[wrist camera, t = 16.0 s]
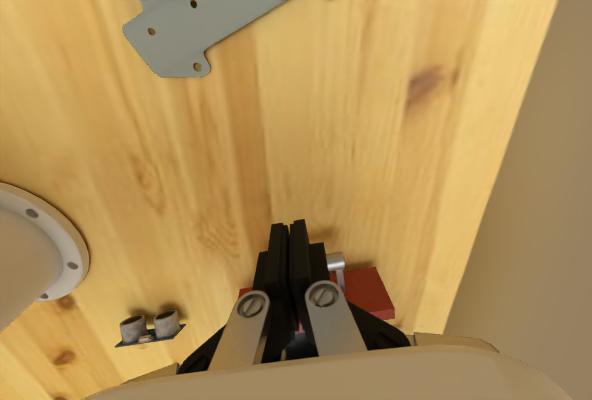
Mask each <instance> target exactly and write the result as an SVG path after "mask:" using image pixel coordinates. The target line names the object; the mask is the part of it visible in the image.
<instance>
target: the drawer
mask: <svg viewBox="0 0 592 400" xmlns="http://www.w3.org/2000/svg"><path fill="white" fill-rule="evenodd" d="M326 259H327V264H328V270H329V271H335V274H329V275H330V281H331V282H334V283H336V284H337V285H338V286H339V287H340V288H341V290H342V292H343V294H344V297H345V299H346V300H347V301H349V302H351V303H353V304H355V305H356V306H358V307H360V308H362V309H363V310H365V311H367V312H369V313H370V314H372V315H374V316H376V317H378V318H379V319H381V320H388V319H394V318H395V308H394V306H393V304H392V302H391V300H390V297H389V295H388V293H387V291H386V289H385V286H384V284H383V282H382V280H381V278H380V276H379V273H378V271H377V269H376V267H372V268H365V269H359V270H353V271H347V272H343V269H345V261H344V256H343V253H342V252H335V253H329V254H326ZM252 288H253V287H250V288H244V289H240V292H239V296H238V299H239V298H240V297H241V296H243V295H244V294H246V293H248V292H251V291H252ZM299 327H300V330H299V331H298V332H295V340H293V341H291V342H290V343H289V344H288V345H287V346H286V359H285V361H288V360H296V359H304V358H313V357H319V354H318V350H317V347H316V346H315V345H314V344H312V343H311V342H310V341H309V340H307V338H306V334H305V331H303V329H302V326H301V322H300V318H299Z"/></svg>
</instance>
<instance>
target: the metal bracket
mask: <svg viewBox="0 0 592 400" xmlns="http://www.w3.org/2000/svg"><path fill="white" fill-rule="evenodd" d="M140 1H141V3H142V5H143V11H142V13H141V14H139V15H138V16H136V17H135V18H133V19H132V20H130V21H129V22H127V23H126V24H124V25H123V27H122V30H123V33H124V36H125V38H126V39H127V40H128V41H129V43H130V44H131V45H132V46H133V47H134V49H135V50H136V51H137V52H138V54H139V55H140V56H141V57H142V59H143V60H144V61H145V62H146V64H147V65H148V66H149V67H150V69H151V70H152V71H153V72H154V73H155V74H157V75H158V76H159V77H203V76H204V75H206V74H208V73H209V72H210V69H211V67H210V64H209V63H208V61H207V60H206V58H205V56H204V51H205V49H207V48H209V47H210V46H212V45H213V44H215V43H217V42H218V41H220V40H222V39H223V38H225V37H227V36H228V35H230V34H232V33H233V32H235V31H237V30H238V29H240V28H242V27H243V26H245V25H247V24H248V23H250V22H251V21H253V20H255V19H256V18H258V17H260V16H261V15H263V14H265V13H266V12H268V11H270V10H271V9H273V8H275V7H276V6H278V5H280V4H281V3H283V2H284V1H286V0H195V1H196V2H197V7H196V8H193V7H192V6H191V0H140ZM149 28H152V29H153V30H154V31H155V35H151V34H150V33H149ZM194 63H199V64H200V65H201V67H202V69H201V70H200V71H197V70H195V69H194V67H193V65H194Z"/></svg>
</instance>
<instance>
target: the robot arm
mask: <svg viewBox="0 0 592 400" xmlns="http://www.w3.org/2000/svg"><path fill="white" fill-rule="evenodd" d="M88 268H89V253H88V250H87V248H86V245H85V242H84V241H83V239H82V237H81V235H80V234H79V232H78V231H77V229H76V228H75V227H74V226H73V225H72V223H71V222H70V221H69V220H68V219H67V218H66V217H65V216H63V215H62V214H61V213H60V212H59V211H58V210H57V209H55V208H54V207H52V206H51V205H50V204H48V203H47V202H45V201H44V200H42V199H40V198H38V197H36V196H35V195H33V194H31V193H29V192H27V191H25V190H22V189H19V188H17V187H14V186H12V185H9V184H5V183H1V182H0V332H2V331H3V330H4V329H5V328H6V327H7V326H8V325H9V324H10V323H12V322H13V321H14V320H15V319H16V318H17V317H18V316H19V315H20V314H21V313H23V312H24V311H25V310H26V309H27V308H28V307H29V306H30V305H31V304H33V303H34V302H40V301H49V300H54V299H58V298H60V297H63V296H65V295H67V294H69V293H70V292H71V291H73V290H74V289H75V288H76V287H77V286H78V285H79V284H80V283H81V282H82V281H83V280H84V278H85V276H86V274H87V273H88ZM299 318H300V322H301V326H302V329H303V331H305V334H306V338H307V340H309V341H310V342H311V343H312V344H314V345H315V346H316V347H317V350H318V354H319V357H313V358H304V359H296V360H288V361H285V359H286V346H287V345H288V344H289V343H290V342H291V341H293V340H295V332H298V331H299V330H300V327H299ZM82 400H572V399H571V398H570V397H569V396H568V395H567V394H566V393H565V392H564V391H563V390H562V389H561V388H560V387H558V386H557V385H556V384H555V383H554V382H553V381H552V380H551V379H549V378H548V377H547V376H546V375H544V374H543V373H541V372H540V371H538V370H537V369H535V368H534V367H532V366H530V365H529V364H527V363H524V362H522V361H520V360H517V359H515V358H512V357H510V356H507V355H504V354H501V353H500V352H499V351H498V350H497V349H496V348H495V347H494V346H492V345H491V344H489V343H488V342H486V341H484V340H482V339H477V338H473V337H463V336H450V335H440V334H429V333H417V332H414V335H405V334H404V333H403V332H401V331H400V330H398V329H397V328H395V327H393V326H392V325H390V324H388V323H386V322H385V321H383V320H381V319H379V318H378V317H376V316H374V315H372V314H370V313H369V312H367V311H365V310H363V309H362V308H360V307H358V306H356V305H355V304H353V303H351V302H349V301H347V300H346V299H345V297H344V294H343V292H342V290H341V288H340V287H339V286H338V285H337V284H336V283H334V282H331V281H330V275H329V270H328V264H327V259H326V253H325V248H324V242H321V243H315V244H310V243H309V238H308V233H307V228H306V223H305V219H302V220H296V221H294V224H290V234H289V230H288V226H287V225H283V223H278V224H272V226H271V233H270V240H269V247H268V251H265V252H260V253H259V256H258V261H257V267H256V272H255V278H254V283H253V288H252V291H251V292H248V293H246V294H244V295H243V296H241V297H240V298H239V299H238V300H237V302H236V303H235V305H234V307H233V310H232V312H231V315H230V317H229V319H228V322H227V324H226V325H225V326H223V327H222V328H221V329H220V330H219V331H218V332H216V333H215V334H214V335H213V336H212V337H211V338H209V339H208V340H207V341H206V342H205V343H204V344H203V345H201V346H200V347H199V348H198V349H197V350H196V351H194V352H193V353H192V354H191V355H190V356H189V357H188V358H187V359H186V360H185V361H184V362H183V364H181V365H179V364H178V363H175V364H172V365H170V366H167V367H164V368H161V369H158V370H156V371H153V372H150V373H147V374H145V375H142V376H139V377H136V378H134V379H131V380H128V381H126V382H124V383H122V384H120V385H118V386H115V387H111V388H108V389H105V390H103V391H100V392H97V393H95V394H92V395H90V396H88V397H86V398H84V399H82Z"/></svg>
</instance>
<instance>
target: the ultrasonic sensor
mask: <svg viewBox="0 0 592 400" xmlns="http://www.w3.org/2000/svg"><path fill="white" fill-rule="evenodd" d="M153 321H154V326H155V329H149V330H147V327H146V321H145V316H144V315H136V316H133V317H130V318H128V319H126V320H124V321H122V322H121V323H120V330H121V336H122V341H121V342H120V343H119V344H117V345H116V346H115V348H116V347H123V346H129V345H136V344H143V343H150V342H156V341H163V340H170V339H173V338H174V337H175V336H176V335H177V334H178V333H179V332H180V331H181V330H182V329H183V328H184V327H185V325H186V324H182V325H179V320H178V314H177V311H176V310H169V311H165V312H162V313H160V314H158V315H157V316H155V317H154V319H153Z"/></svg>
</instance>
